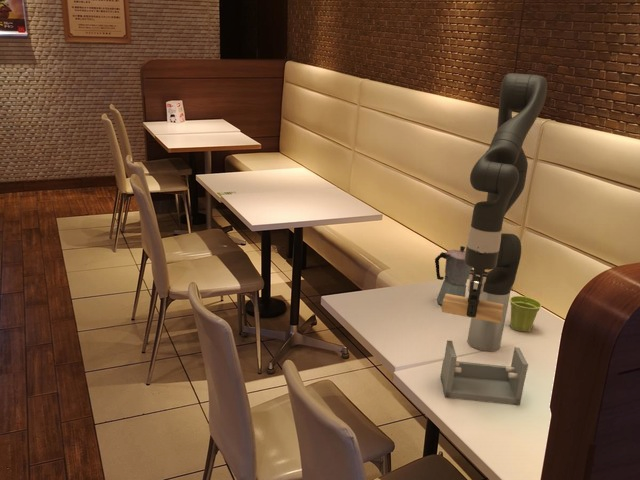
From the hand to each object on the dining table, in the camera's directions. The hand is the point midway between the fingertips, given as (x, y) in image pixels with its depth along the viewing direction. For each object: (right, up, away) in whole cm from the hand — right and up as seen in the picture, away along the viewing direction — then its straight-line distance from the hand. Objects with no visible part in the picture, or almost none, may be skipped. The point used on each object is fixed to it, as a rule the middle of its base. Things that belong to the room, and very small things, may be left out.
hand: (472, 311), depth 155 cm
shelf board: (0, -1, 0) cm, 0 cm away
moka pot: (+6, -4, +54) cm, 54 cm away
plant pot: (+25, -10, +41) cm, 49 cm away
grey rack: (+2, -20, +2) cm, 20 cm away
